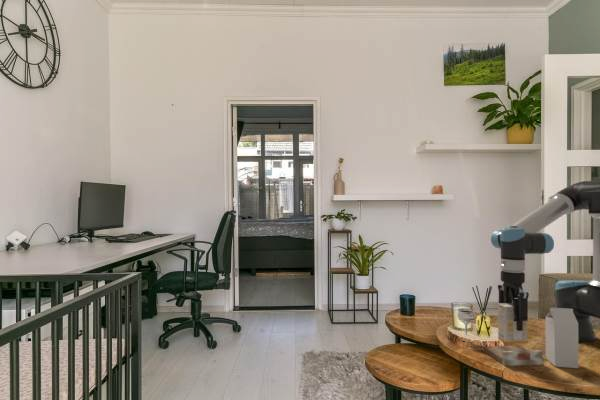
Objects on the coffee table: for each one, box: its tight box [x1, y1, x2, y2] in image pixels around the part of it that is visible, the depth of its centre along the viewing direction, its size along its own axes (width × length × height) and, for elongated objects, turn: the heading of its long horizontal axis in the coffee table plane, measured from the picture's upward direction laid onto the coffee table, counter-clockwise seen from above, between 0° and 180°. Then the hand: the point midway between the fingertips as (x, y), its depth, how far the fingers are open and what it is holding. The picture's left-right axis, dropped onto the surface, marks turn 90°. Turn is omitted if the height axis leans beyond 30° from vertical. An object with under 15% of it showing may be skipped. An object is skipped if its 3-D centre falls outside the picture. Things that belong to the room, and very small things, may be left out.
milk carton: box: [545, 307, 579, 369], centre depth 129 cm, size 7×7×19 cm
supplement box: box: [497, 302, 529, 345], centre depth 133 cm, size 8×5×13 cm, turn 94°
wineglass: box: [456, 307, 476, 336], centre depth 151 cm, size 7×7×12 cm
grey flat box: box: [482, 344, 544, 367], centre depth 133 cm, size 14×12×4 cm
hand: (512, 336), depth 133 cm, fingers closed on supplement box, 5 cm apart
